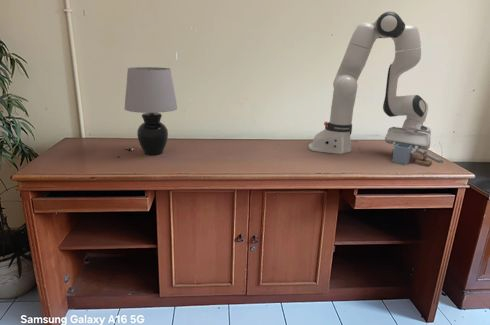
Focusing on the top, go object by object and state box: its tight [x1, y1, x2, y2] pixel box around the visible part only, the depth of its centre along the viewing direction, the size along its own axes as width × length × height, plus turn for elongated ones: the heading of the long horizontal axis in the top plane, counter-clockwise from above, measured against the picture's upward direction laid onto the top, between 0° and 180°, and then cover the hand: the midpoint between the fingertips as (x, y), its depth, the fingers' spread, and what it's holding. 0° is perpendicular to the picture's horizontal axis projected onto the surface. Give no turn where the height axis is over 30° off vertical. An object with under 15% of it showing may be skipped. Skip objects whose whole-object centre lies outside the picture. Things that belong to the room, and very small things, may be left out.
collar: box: [391, 143, 412, 165], centre depth 170 cm, size 6×6×8 cm
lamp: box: [124, 66, 178, 157], centre depth 167 cm, size 24×24×40 cm
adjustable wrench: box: [412, 148, 444, 164], centre depth 183 cm, size 25×6×2 cm, turn 3°
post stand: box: [414, 150, 433, 168], centre depth 168 cm, size 6×6×6 cm
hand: (402, 152), depth 171 cm, fingers closed on collar, 6 cm apart
